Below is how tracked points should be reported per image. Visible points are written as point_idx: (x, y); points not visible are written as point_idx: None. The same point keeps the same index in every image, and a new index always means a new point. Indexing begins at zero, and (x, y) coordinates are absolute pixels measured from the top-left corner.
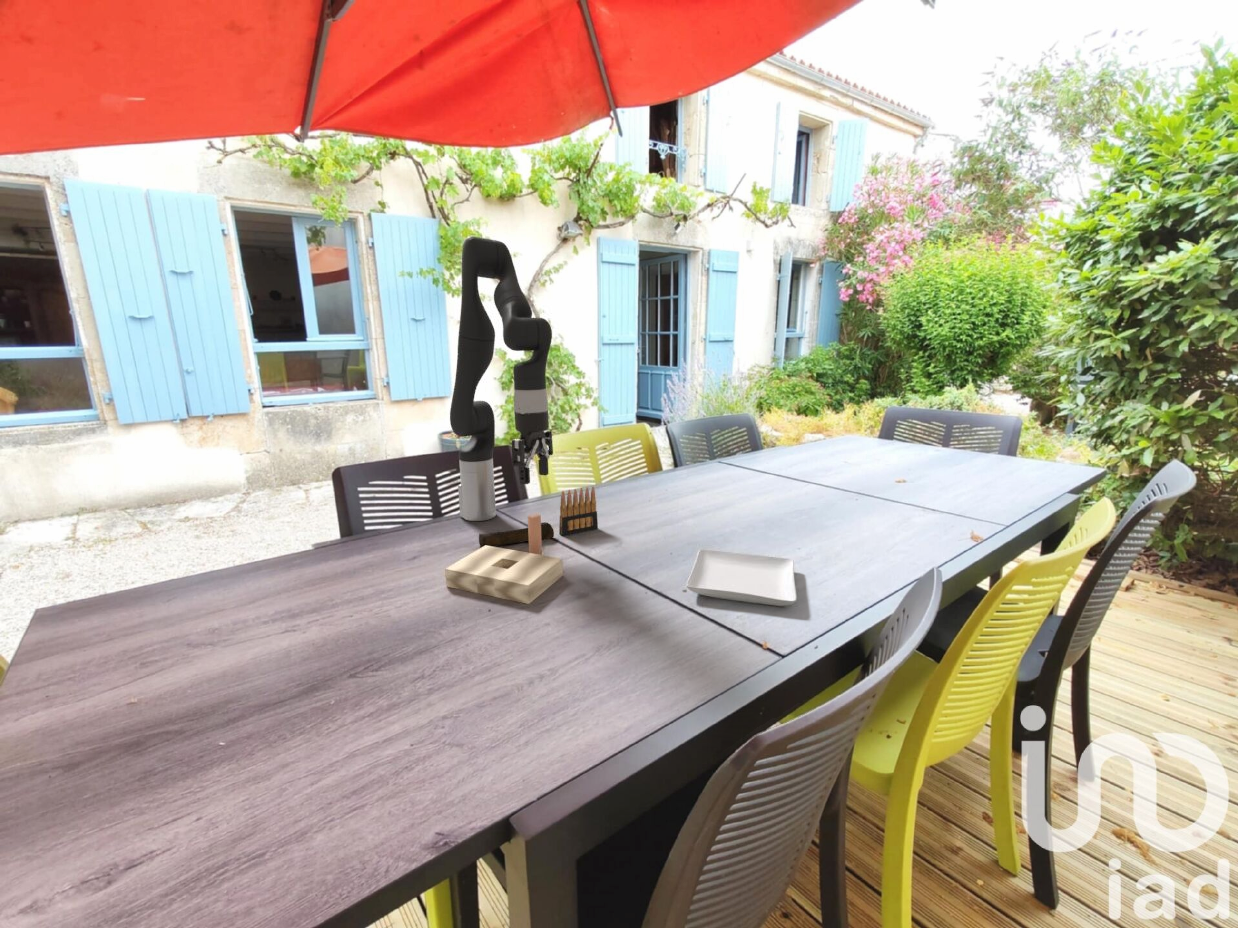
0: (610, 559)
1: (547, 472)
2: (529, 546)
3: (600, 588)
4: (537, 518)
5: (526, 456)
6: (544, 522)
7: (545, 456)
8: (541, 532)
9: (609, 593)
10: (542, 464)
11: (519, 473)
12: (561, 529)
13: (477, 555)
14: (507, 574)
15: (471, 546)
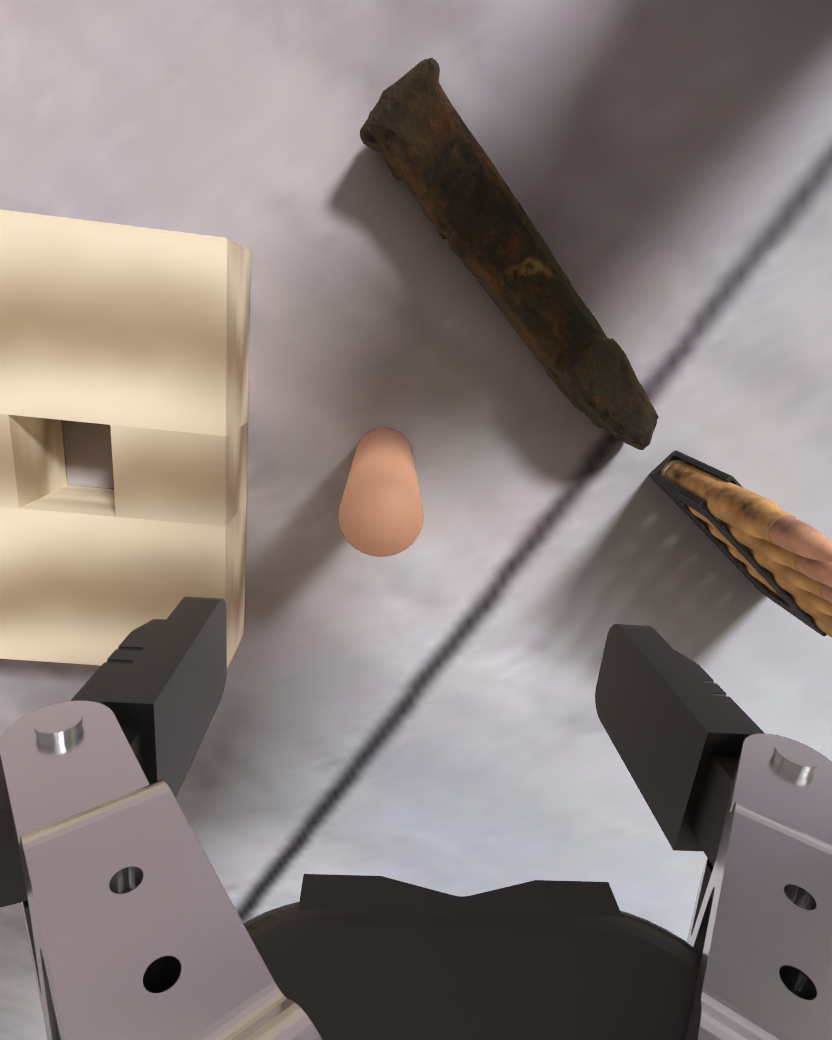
0: (441, 735)
1: (612, 727)
2: (358, 449)
3: (202, 774)
4: (357, 548)
5: (42, 1001)
6: (646, 415)
7: (699, 899)
8: (584, 409)
9: (180, 805)
10: (656, 744)
11: (91, 678)
12: (673, 475)
13: (83, 273)
14: None
15: (405, 37)
